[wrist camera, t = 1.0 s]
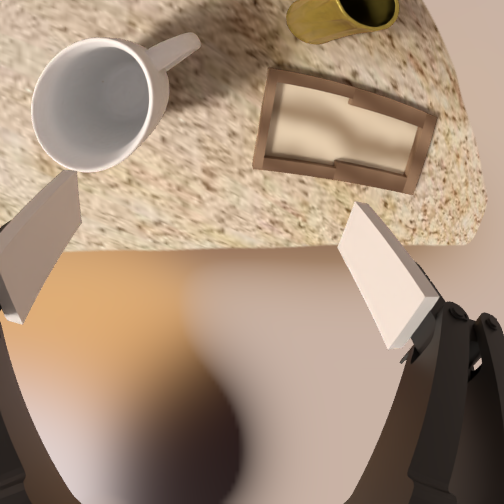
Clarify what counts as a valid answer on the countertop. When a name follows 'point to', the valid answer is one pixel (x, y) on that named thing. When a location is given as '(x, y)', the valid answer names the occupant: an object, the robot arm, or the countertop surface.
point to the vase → (339, 18)
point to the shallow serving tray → (340, 133)
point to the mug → (104, 98)
